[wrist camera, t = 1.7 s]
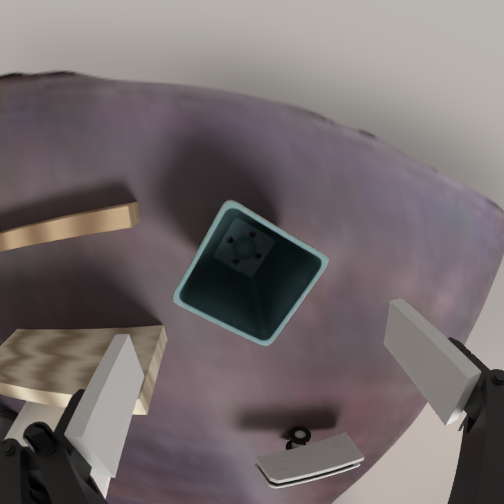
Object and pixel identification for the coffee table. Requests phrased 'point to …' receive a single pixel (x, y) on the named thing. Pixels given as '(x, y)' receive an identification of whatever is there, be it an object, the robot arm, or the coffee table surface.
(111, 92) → the coffee table surface
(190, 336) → the coffee table surface
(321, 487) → the coffee table surface
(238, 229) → the flower pot
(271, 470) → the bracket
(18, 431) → the container
